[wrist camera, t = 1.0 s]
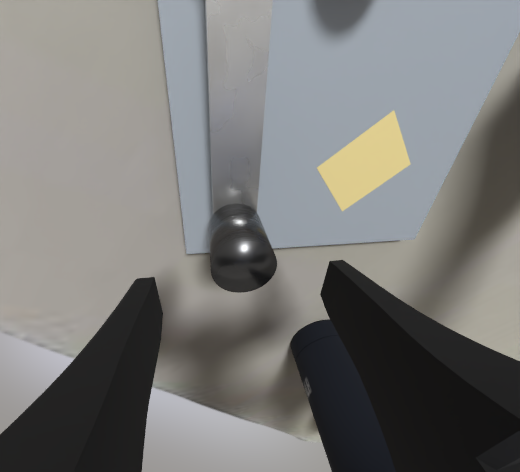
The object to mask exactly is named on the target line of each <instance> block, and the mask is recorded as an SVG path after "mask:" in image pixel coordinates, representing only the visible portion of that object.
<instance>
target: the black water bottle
mask: <svg viewBox="0 0 520 472" xmlns="http://www.w3.org/2000/svg"><path fill="white" fill-rule="evenodd" d="M291 349H292V352H293V355H294V358H295V361H296V364H297V367H298V370H299V373H300V376H301V379H302V382H303V385H304V388H305V391H306V394H307V397H308V400H309V403H310V406H311V410H312V413H313V416H314V419H315V422H316V425H317V428H318V431H319V434H320V437H321V440H322V443H323V446H324V449H325V452H326V455H327V458H328V461H329V464H330V467H331V470H332V472H396V470H395V467H394V464H393V461H392V458H391V455H390V452H389V450H388V447H387V444H386V441H385V438H384V436H383V433H382V430H381V427H380V425H379V422H378V419H377V417H376V414H375V412H374V409H373V407H372V404H371V402H370V399H369V397H368V394H367V392H366V389H365V387H364V385H363V382H362V380H361V378H360V375H359V373H358V371H357V369H356V367H355V365H354V363H353V361H352V359H351V357H350V355H349V353H348V352H347V350H346V348H345V346H344V344H343V342H342V340H341V339H340V337H339V335H338V333H337V331H336V329H335V327H334V325H333V323H332V322H331V320H322V321H318V322H314V323H312V324H310V325H307V326H306V327H304V328H303V329H301V330H300V331H299V332H298V333H297V334H296V335H295V336H294V337H293V339H292V341H291Z"/></svg>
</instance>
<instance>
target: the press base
mask: <svg viewBox="0 0 520 472" xmlns="http://www.w3.org/2000/svg"><path fill="white" fill-rule="evenodd" d="M158 8H159V17H160V25H161V34H162V43H163V52H164V61H165V69H166V78H167V87H168V96H169V104H170V113H171V122H172V131H173V139H174V148H175V157H176V166H177V174H178V183H179V192H180V201H181V210H182V218H183V227H184V236H185V245H186V253H187V254H196V253H210V245H209V229H208V228H209V221H210V219H211V217H212V215H213V209H212V182H211V155H210V127H209V100H208V72H207V45H206V18H205V0H158ZM519 32H520V0H273V5H272V18H271V31H270V45H269V58H268V71H267V85H266V98H265V111H264V125H263V138H262V151H261V165H260V178H259V191H258V205H257V214H258V215H259V217H260V220H261V222H262V224H263V227H264V229H265V232H266V234H267V237H268V239H269V242H270V244H271V246H272V249H273V248H288V247H304V246H319V245H335V244H350V243H365V242H381V241H396V240H412V239H415V238H416V236H417V234H418V232H419V230H420V228H421V226H422V224H423V222H424V220H425V218H426V216H427V214H428V212H429V210H430V208H431V206H432V204H433V202H434V200H435V198H436V196H437V194H438V192H439V190H440V188H441V186H442V184H443V182H444V180H445V178H446V176H447V174H448V172H449V170H450V168H451V166H452V165H453V163H454V161H455V159H456V157H457V155H458V153H459V151H460V149H461V147H462V145H463V143H464V141H465V139H466V137H467V135H468V133H469V131H470V129H471V127H472V125H473V123H474V121H475V119H476V117H477V115H478V113H479V111H480V109H481V107H482V105H483V103H484V101H485V99H486V97H487V95H488V93H489V91H490V90H491V88H492V86H493V84H494V82H495V80H496V78H497V76H498V74H499V72H500V70H501V68H502V66H503V64H504V62H505V60H506V58H507V56H508V54H509V52H510V50H511V48H512V46H513V44H514V42H515V40H516V38H517V36H518V34H519Z"/></svg>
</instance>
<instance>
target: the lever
mask: <svg viewBox="0 0 520 472" xmlns="http://www.w3.org/2000/svg"><path fill="white" fill-rule="evenodd" d="M272 5H273V0H205V18H206V45H207V72H208V100H209V127H210V155H211V182H212V209H213V215H212V217H211V219H210V221H209V228H208V229H209V245H210V260H211V274H212V277H213V280H214V281H215V283H216V284H217V285H218V286H220V287H221V288H223V289H225V290H227V291H231V292H248V291H252V290H255V289H257V288H260V287H261V286H263V285H264V284H266V283H267V282H268V281H269V280H270V279H271V278H272V276H273V275H274V273H275V271H276V267H277V260H276V256H275V254H274V251H273V249H272V246H271V244H270V242H269V239H268V237H267V234H266V232H265V229H264V227H263V224H262V222H261V220H260V217H259V215H258V214H257V205H258V191H259V178H260V165H261V151H262V138H263V125H264V111H265V98H266V85H267V71H268V58H269V45H270V31H271V18H272Z"/></svg>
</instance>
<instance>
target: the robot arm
mask: <svg viewBox="0 0 520 472" xmlns="http://www.w3.org/2000/svg"><path fill="white" fill-rule="evenodd" d="M320 295H321V297H322V300H323V303H324V306H325V308H326V311H327V313H328V316H329V318H330V320H331V322H332V323H333V325H334V327H335V329H336V331H337V333H338V335H339V337H340V339H341V340H342V342H343V344H344V346H345V348H346V350H347V352H348V353H349V355H350V357H351V359H352V361H353V363H354V365H355V367H356V369H357V371H358V373H359V375H360V378H361V380H362V382H363V385H364V387H365V389H366V392H367V394H368V397H369V399H370V402H371V404H372V407H373V409H374V412H375V414H376V417H377V419H378V422H379V425H380V427H381V430H382V433H383V436H384V438H385V441H386V444H387V447H388V450H389V452H390V455H391V458H392V461H393V464H394V467H395V470H396V472H520V361H517V360H515V359H513V358H510V357H508V356H506V355H503V354H501V353H499V352H496V351H494V350H492V349H490V348H488V347H485V346H483V345H481V344H479V343H477V342H475V341H473V340H471V339H469V338H467V337H465V336H463V335H460V334H458V333H457V332H455V331H453V330H451V329H449V328H447V327H445V326H443V325H441V324H440V323H438V322H436V321H434V320H432V319H431V318H429V317H427V316H425V315H424V314H422V313H420V312H419V311H417V310H415V309H414V308H412V307H411V306H409V305H407V304H406V303H404V302H403V301H401V300H400V299H398V298H397V297H395V296H394V295H392V294H391V293H389V292H388V291H386V290H385V289H383V288H382V287H380V286H379V285H378V284H376V283H375V282H373V281H372V280H370V279H369V278H368V277H366V276H365V275H363V274H362V273H361V272H359V271H358V270H356V269H355V268H354V267H352V266H351V265H349V264H348V263H346V262H345V261H343V260H338V261H330V262H329V266H328V269H327V273H326V276H325V280H324V283H323V287H322V290H321V294H320ZM162 317H163V312H162V308H161V303H160V299H159V295H158V291H157V286H156V282H155V278H154V277H150V278H139V279H136V280H135V281H134V283H133V284H132V286H131V287H130V288H129V290H128V291H127V293H126V294H125V296H124V297H123V299H122V300H121V301H120V303H119V304H118V306H117V307H116V308H115V310H114V311H113V312H112V314H111V315H110V316H109V318H108V319H107V320H106V322H105V323H104V324H103V325H102V327H101V328H100V329H99V331H98V332H97V333H96V334H95V336H94V337H93V338H92V339H91V340H90V342H89V343H88V344H87V345H86V346H85V348H84V349H83V350H82V351H81V352H80V353H79V355H78V356H77V357H76V358H75V359H74V360H73V362H72V363H71V364H70V365H69V366H68V367H67V368H66V369H65V370H64V371H63V373H62V374H61V375H60V376H59V377H58V378H57V379H56V380H55V381H54V382H53V383H52V384H51V385H50V386H49V388H47V389H46V391H45V392H44V393H43V394H42V395H41V396H40V397H38V398H37V399H36V400H35V401H34V402H33V403H32V404H31V406H29V407H28V408H27V409H26V410H25V412H23V413H22V414H21V415H20V416H19V417H18V418H17V419H16V420H15V421H14V422H13V423H12V424H11V425H10V426H9V427H8V428H7V429H6V430H5V431H4V432H2V433H1V434H0V472H141V471H142V459H143V449H144V438H145V429H146V419H147V412H148V404H149V399H150V394H151V389H152V383H153V378H154V373H155V368H156V363H157V357H158V352H159V347H160V341H161V331H162Z"/></svg>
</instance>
